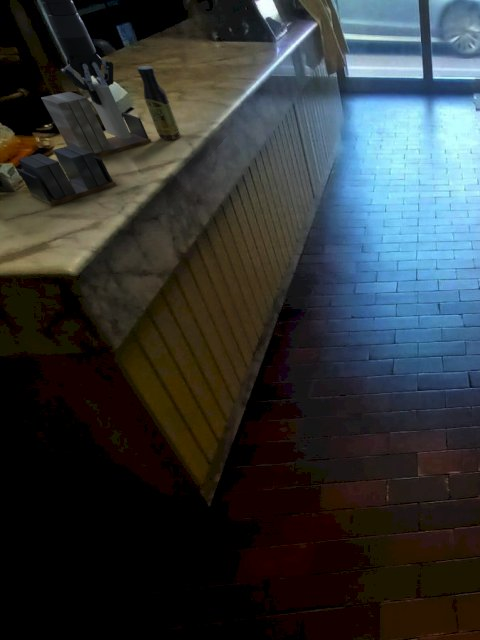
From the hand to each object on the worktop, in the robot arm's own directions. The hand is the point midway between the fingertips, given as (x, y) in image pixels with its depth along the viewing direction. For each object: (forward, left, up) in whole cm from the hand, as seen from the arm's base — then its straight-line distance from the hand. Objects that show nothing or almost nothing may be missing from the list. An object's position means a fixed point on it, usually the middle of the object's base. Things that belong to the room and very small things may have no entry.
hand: (104, 102), depth 151 cm
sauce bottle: (+12, -6, -12) cm, 18 cm away
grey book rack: (-26, -23, -12) cm, 37 cm away
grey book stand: (-4, 0, -12) cm, 12 cm away
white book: (0, 0, -9) cm, 9 cm away
